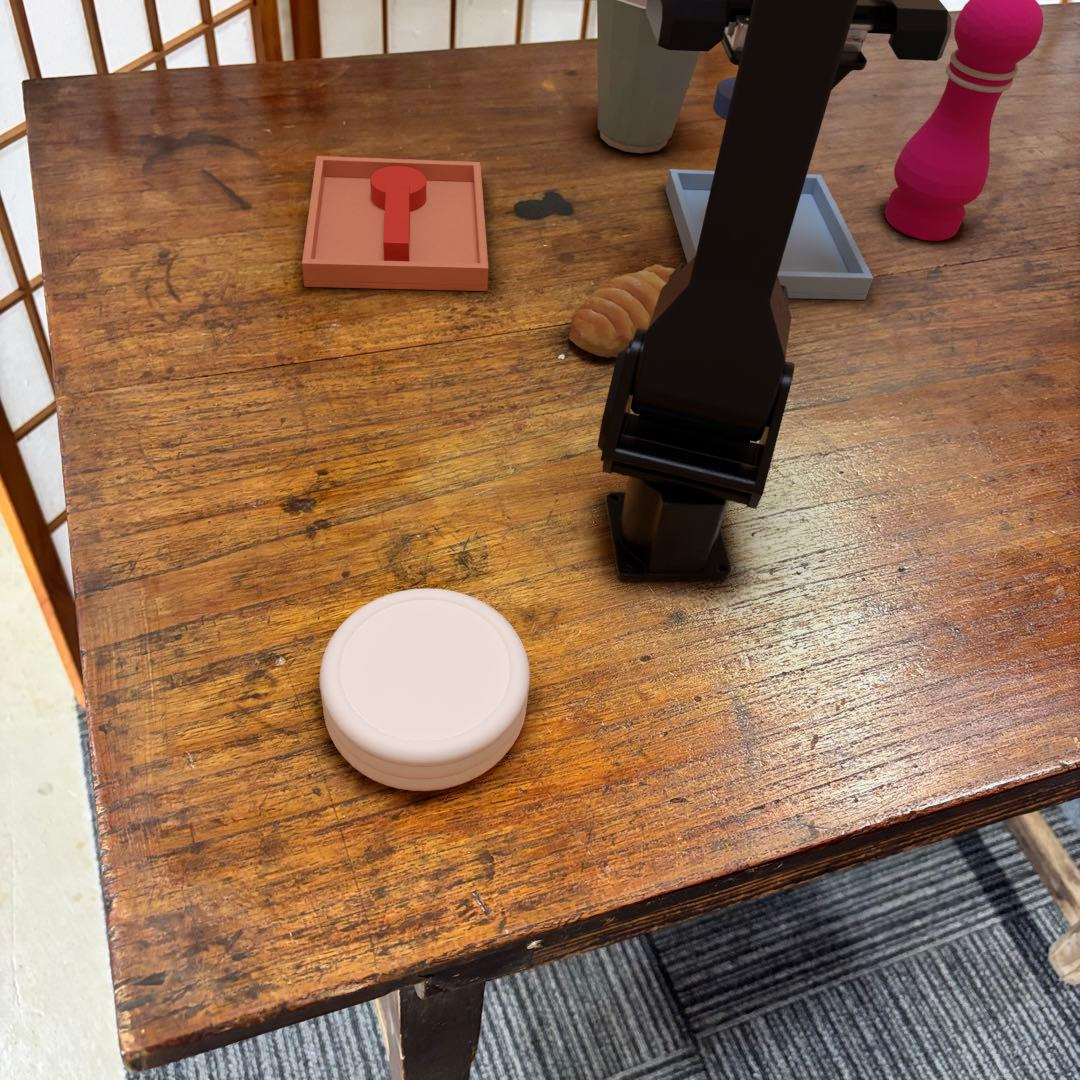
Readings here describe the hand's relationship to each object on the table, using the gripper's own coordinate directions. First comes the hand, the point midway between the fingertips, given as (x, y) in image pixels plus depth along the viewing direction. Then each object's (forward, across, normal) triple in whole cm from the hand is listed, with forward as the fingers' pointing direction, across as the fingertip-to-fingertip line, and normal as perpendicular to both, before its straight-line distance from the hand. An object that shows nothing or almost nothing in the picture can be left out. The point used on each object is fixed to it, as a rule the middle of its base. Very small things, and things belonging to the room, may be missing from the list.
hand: (764, 141), depth 72 cm
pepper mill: (+11, -18, -8) cm, 22 cm away
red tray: (+10, +26, -4) cm, 28 cm away
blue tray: (+10, -3, -4) cm, 12 cm away
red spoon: (+10, +26, -4) cm, 28 cm away
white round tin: (+10, +24, +39) cm, 47 cm away
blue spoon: (+1, 0, -2) cm, 3 cm away
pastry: (+10, +9, +8) cm, 16 cm away
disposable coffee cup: (+11, +5, -21) cm, 24 cm away
